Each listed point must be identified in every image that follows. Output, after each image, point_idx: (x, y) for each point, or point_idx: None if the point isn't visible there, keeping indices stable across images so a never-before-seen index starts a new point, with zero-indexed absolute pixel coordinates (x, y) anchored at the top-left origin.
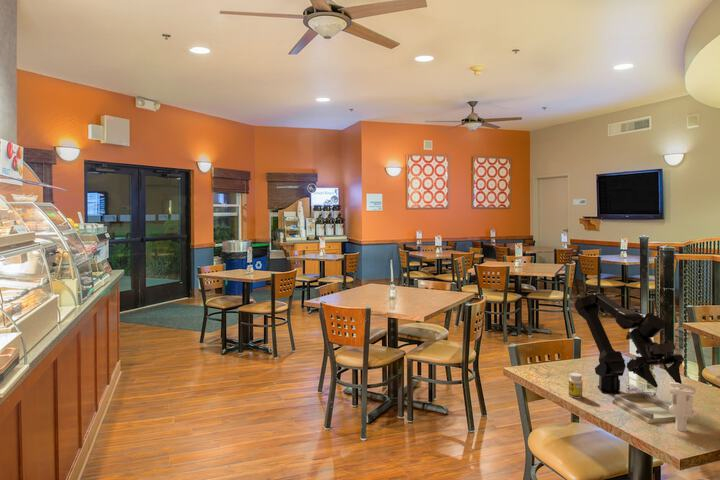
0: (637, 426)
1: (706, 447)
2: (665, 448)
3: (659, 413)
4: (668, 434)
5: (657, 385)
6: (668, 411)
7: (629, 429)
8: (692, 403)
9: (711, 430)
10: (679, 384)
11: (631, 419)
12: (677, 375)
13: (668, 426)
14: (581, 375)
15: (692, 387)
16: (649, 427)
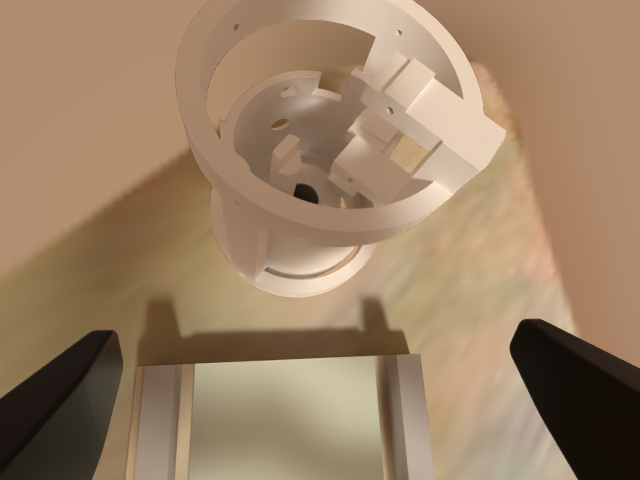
0: (487, 329)
1: (318, 87)
2: None
3: (287, 427)
4: None
5: (535, 321)
6: (190, 454)
7: (542, 306)
8: (258, 119)
9: (125, 202)
10: (404, 60)
11: (471, 423)
12: (10, 463)
13: (324, 296)
14: None
15: (205, 42)
16: (433, 306)
